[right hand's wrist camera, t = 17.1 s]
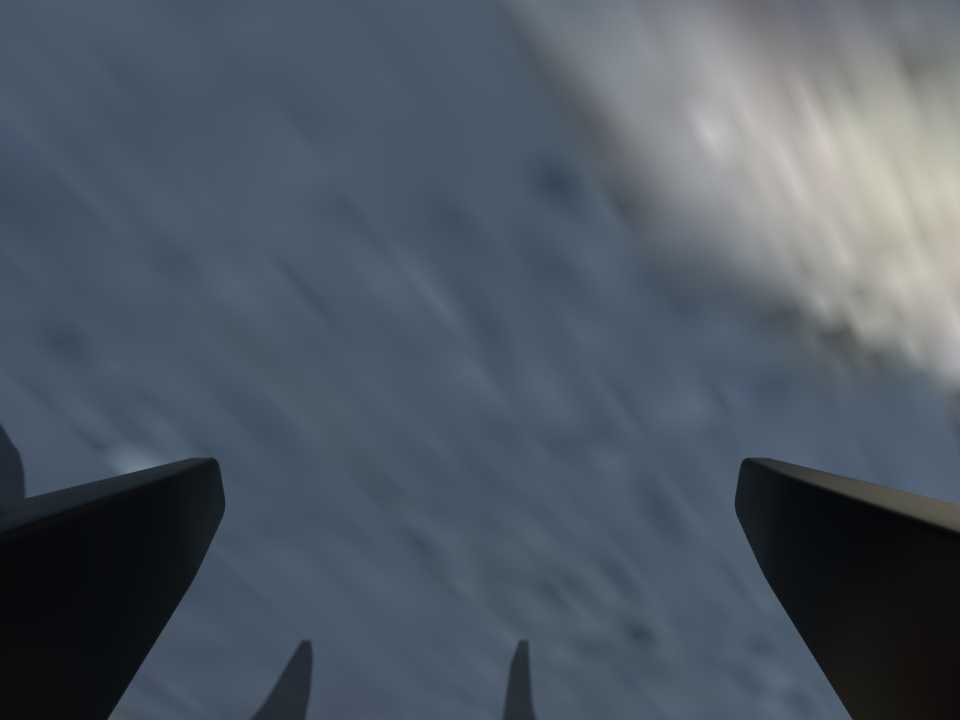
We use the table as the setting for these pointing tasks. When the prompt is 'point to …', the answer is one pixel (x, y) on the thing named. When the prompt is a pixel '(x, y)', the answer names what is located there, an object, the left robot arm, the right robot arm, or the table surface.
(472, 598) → the table surface
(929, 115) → the table surface
